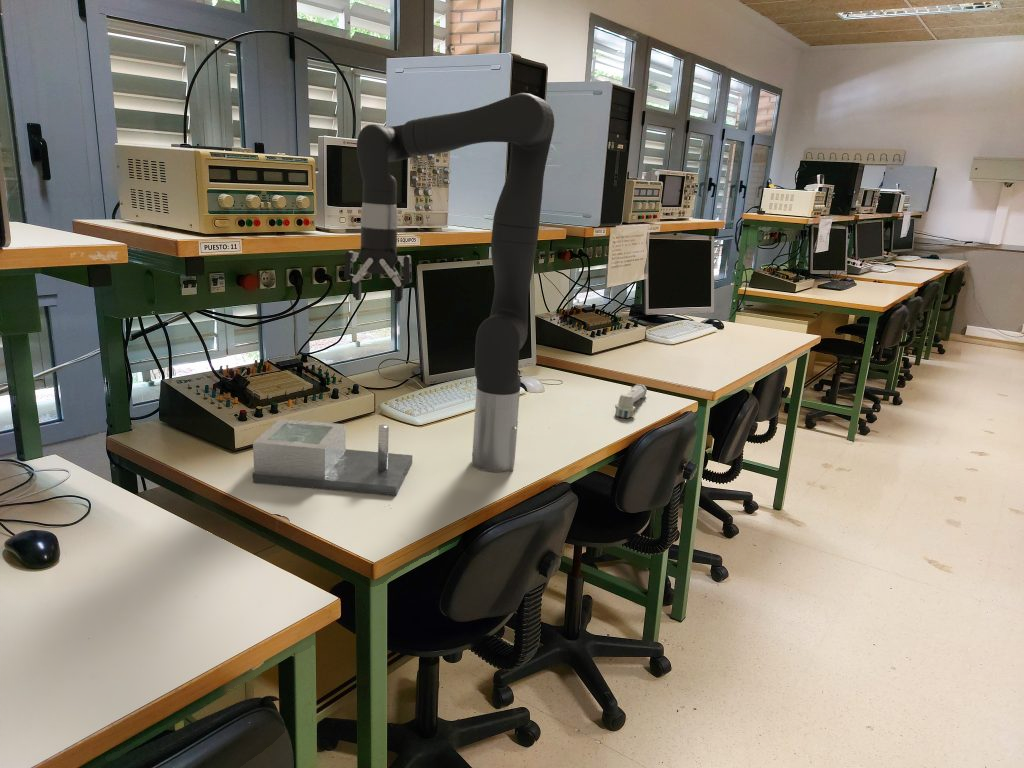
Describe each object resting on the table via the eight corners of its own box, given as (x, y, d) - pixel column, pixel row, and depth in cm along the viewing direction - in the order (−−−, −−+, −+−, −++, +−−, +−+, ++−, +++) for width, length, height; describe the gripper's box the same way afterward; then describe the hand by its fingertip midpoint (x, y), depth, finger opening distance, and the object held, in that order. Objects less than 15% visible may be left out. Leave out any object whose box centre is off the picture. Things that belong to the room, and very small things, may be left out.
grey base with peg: (412, 463, 152) (413, 415, 149) (396, 496, 137) (397, 442, 134) (283, 452, 153) (282, 403, 150) (252, 482, 138) (251, 429, 135)
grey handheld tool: (650, 384, 213) (635, 394, 189) (646, 406, 214) (631, 419, 190) (632, 381, 214) (615, 391, 191) (629, 403, 215) (612, 415, 192)
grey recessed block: (345, 451, 151) (345, 424, 150) (325, 477, 138) (324, 448, 136) (280, 445, 152) (280, 418, 150) (253, 471, 138) (252, 442, 137)
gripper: (415, 227, 154) (413, 301, 159) (350, 221, 154) (350, 296, 159) (409, 229, 147) (406, 307, 151) (340, 224, 147) (340, 301, 152)
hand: (377, 301), depth 155 cm, fingers open, 8 cm apart
